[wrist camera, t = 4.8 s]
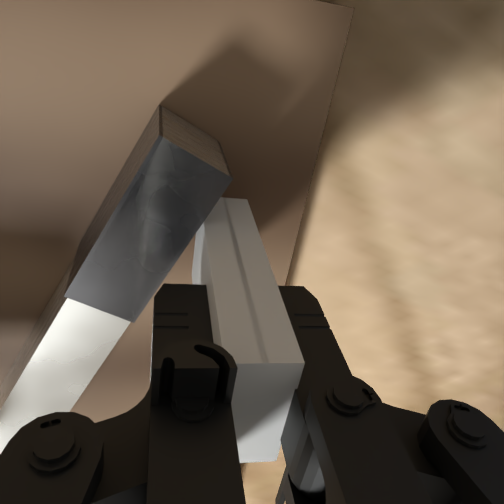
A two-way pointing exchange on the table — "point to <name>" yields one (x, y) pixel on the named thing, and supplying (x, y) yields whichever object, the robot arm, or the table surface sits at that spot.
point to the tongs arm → (116, 267)
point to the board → (132, 126)
